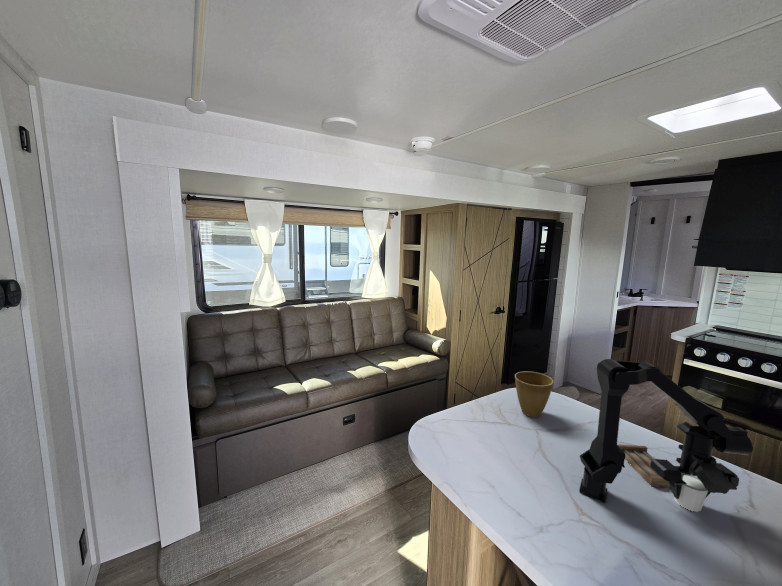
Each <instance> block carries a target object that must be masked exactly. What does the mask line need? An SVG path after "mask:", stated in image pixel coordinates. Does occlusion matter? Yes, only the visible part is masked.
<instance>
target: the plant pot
mask: <svg viewBox="0 0 782 586" xmlns="http://www.w3.org/2000/svg"><path fill="white" fill-rule="evenodd" d="M514 380H515V389H516V395H517V398H518V399H517V400H518V404H519V407H520V409H521V413H522V414H524V415H525V416H527V417H530V418H539V417H541V416H542V413H543V412H544V410H545V409H546V405H547V404H548V402H549V398H550V397H551V392H552V389H553V387H554V386H553V385H554V380H553V378H551V377H550V376H548V375H546V374H544V373H541V372H537V371H536V372H535V371H525V370H524V371H519V372H516V373H515V374H514Z"/></svg>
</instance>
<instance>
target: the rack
mask: <svg viewBox="0 0 782 586" xmlns="http://www.w3.org/2000/svg"><path fill="white" fill-rule="evenodd" d="M617 445H618V446H619V447H620V448H621V449H622V451H623V452H624V453H625V460H624V461H626V460H627V461H628V462H629V463H628V462H627V461H626V462H627V463H628V464H629V465H630V464H631V465H630V466H631V468H632V469H633V470H634V471H636V472H637V474H639V476H640V477H641V478H643V479H644V480H645V481H647V482H648V483H649V484H650V485H651V486H650V485H649V484H648V483H647V482H646V483H647V484H648V485H649V486H650V487H658V486H663V487H662V488H671V487H670V485H669V482H668V481H666V480H664V479H663V478H662V477H661V476H660V475H659V474H658V473H656V472H655V471H654V470H653V469H652V468H651V467H650V465H651V460H653V459H655V458H654V457H653V456H652V455H651V454H649V452H648V447H647V446H646V445H633V444H620V443H619V444H618V443H617Z"/></svg>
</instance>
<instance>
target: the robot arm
mask: <svg viewBox="0 0 782 586" xmlns="http://www.w3.org/2000/svg"><path fill="white" fill-rule="evenodd" d="M596 372H597V373H596V374H597V375H596V376H597V380H598V383H599V386H600V390H601V393H600V401H599V402H600V404H599V412H598V413H599V415H598V422H597V424H598V425H597V435H596V437H595V438H594V439H593V440H592V441H591V443H590V447H589V449H588V450H586V451H584V452H583V453H581V454H580V455H579V459H580V462H581V463H582V464H583V466H584V468H583V476H582V478H581V481H580V486H579V488H578V489H579V493H580V494H583V495H586V496H588V497H590V498H592V499H595V500H597V501H599V502H602V503H607V495H608V488H607V485H608V484H613V483H614V481H615V479H616V477H617V476H618V475H619V474H621V472H622V471H623V469H624V468H626V467H625V461H626V460H625V453H624V452H623V451H622V449H621V448H620V447H619V446H618V438H619V429H620V418H621V408H622V399H623V396H624V395H625V394H626V393H627V392H628V391H629V390H630V385H641V384H643V383H645V382H650V383H651V385H653V386H654V387H656V388H657V389H658V390H660V391H661V392H662V393H663V394H665V395H666V396H667V397H668V398H669V399H671V401H673V402H674V403H675V404H676V405H677V407H678V410H680V411H681V412H682V413H683V415H684V416H685V417H686V418H688V419H689V420H690V421H692V422H693V423H695V425H694V424H690V422H687V421H685V422H682V423H678V424H677V425H676V428H678V429H679V430H680V431H681V432H682V433H684V438H683V443H682V444H678V446H677V447H678V449H680V450H681V454H680V455H681V456H680V457H676V460H675V461H676V462H677V463H678V464H679V465H674V464H673V463H671V461H669V460H668V459H661V458H660V459H659V458H654V459H653V460H651V465H650V467H651V468H652V469H653V470H654V471H655V472H656V473H658V474H659V475H660V476H661V477H662V478H663V479H664V480H666V481H668V482H669V485H670V487H669V488H670V490H671V492H672V496H673V498H674V497H675V498H676V499H679V496H680V493H681V488H682V485H685V484H687V483H686V482H684V481H683V477H684V475H688V476H694V477H696V478H698V479H699V480H700V481H701V482H702V484H703V485H704V487H705V488H706V490H708V492H707V495H706V498H705V500H706V499H707V498H708V496H709V495H710V494H716V493H717V494H728V493H729V491H730V490H731V491H732V490H734V491H737V489H738V487H739V483H740V478H739V476H738V475H737V473H735V472H734V471H733V470H731V469H730V468H728V467H727V466H725V465H724V464H722V463H721V462H717V458H715V457H714V456H713V450H714V449H715V450H716V451H718V452H719V453H723V454H724V453H727V454H735V455H736V454H737V455H742V456H743V455H744V456H749V455H751V454H752V453H753V451H754V447H753V444H752V441H751V439H750V438H749V436H748V433H749V432H748V431H747V430H746V429H744V428H742V427H741V426H734V427H733V426H727V425H726V423H725V416H724V415H723V413H721V412H719V411H718V410H716V409H714V407H711V406H709V405H708V404H707V403H704V402H703V401H701V400H699V399H697V398H696V397H695V396H692V395H691V394H689V392H687V391H686V390H685V389H684V388H682V387H681V386H679V384H677V383H676V382H674V380H672V379H671V378H669V376H667V375H666V374H664V373H663V372H662V371H661V370H660V368H658V367H657V366H655V365H653V364H652V363H650V362H647V361H629V360H615V359H612V358H611V359H610V358H605V359H602V360H601V361H600V362H598V363H597V365H596Z"/></svg>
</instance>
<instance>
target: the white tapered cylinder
mask: <svg viewBox="0 0 782 586" xmlns="http://www.w3.org/2000/svg"><path fill="white" fill-rule="evenodd" d="M683 481H684V482H686V483H687V484H685V485H682V488H681V493H680V496H679V499H676V498H675V497H674V496H673V499H674V501H675V502H676V503H677V505H679V506H680V505H681V506H680V507H682V508H683V507H684V509H685V508H686V509H685V510H687V509H688V510H687V511H690V510H691V511H690V512H693V511H696V512H695V513H699V512H698V511H700V512H701V511H702V509H703V506H704V504H705V501H706V499H707V497H706V495H707V492H708V490H706V488H705V487H704V485H703V484H702V482H701V481H700V480H699V479H698V478H697V476H688V475H684V477H683ZM705 498H706V499H705Z"/></svg>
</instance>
